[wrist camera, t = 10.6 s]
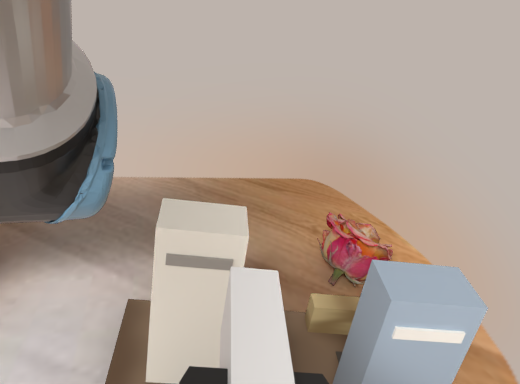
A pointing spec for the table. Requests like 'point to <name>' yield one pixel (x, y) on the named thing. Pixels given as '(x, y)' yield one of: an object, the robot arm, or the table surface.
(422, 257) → the table surface
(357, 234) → the flower
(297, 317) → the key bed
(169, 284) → the key cream
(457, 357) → the light blue tall block
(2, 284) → the table surface
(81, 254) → the table surface
